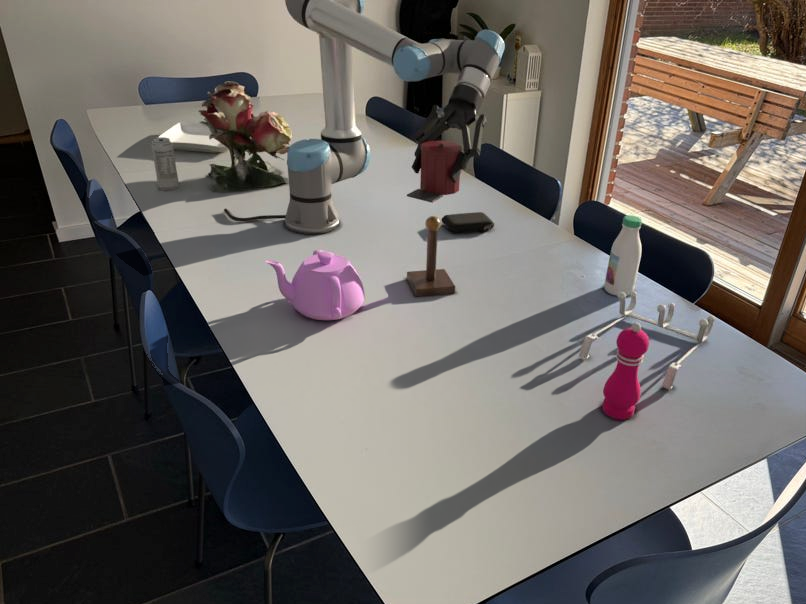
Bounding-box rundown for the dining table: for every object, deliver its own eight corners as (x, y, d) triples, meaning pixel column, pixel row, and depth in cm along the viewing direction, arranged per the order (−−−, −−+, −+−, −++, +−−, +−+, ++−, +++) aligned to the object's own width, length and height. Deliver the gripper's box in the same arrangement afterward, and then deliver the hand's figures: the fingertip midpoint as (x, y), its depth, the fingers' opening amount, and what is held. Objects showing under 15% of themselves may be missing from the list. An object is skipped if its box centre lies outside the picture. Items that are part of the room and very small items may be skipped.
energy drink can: (179, 183, 230) (171, 136, 222) (179, 190, 226) (171, 142, 217) (158, 184, 228) (150, 136, 220) (158, 191, 224) (149, 142, 216)
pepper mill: (596, 399, 146) (613, 313, 135) (630, 399, 147) (650, 314, 136) (604, 421, 140) (622, 332, 129) (640, 421, 141) (661, 333, 130)
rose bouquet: (303, 182, 239) (297, 88, 223) (215, 195, 224) (201, 95, 208) (275, 160, 256) (267, 71, 240) (190, 170, 242) (177, 76, 226)
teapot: (262, 293, 173) (257, 240, 166) (351, 282, 181) (350, 231, 174) (279, 339, 157) (274, 282, 149) (376, 325, 165) (376, 270, 157)
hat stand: (415, 296, 178) (417, 225, 168) (406, 278, 186) (408, 209, 176) (454, 293, 181) (459, 223, 171) (444, 275, 188) (447, 208, 178)
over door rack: (712, 338, 171) (722, 302, 166) (671, 394, 149) (682, 355, 144) (627, 310, 180) (635, 275, 174) (578, 359, 158) (584, 321, 153)
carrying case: (451, 236, 210) (497, 232, 215) (452, 227, 209) (498, 223, 214) (439, 223, 218) (483, 219, 224) (439, 213, 217) (484, 209, 222)
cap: (432, 178, 178) (433, 135, 172) (466, 187, 175) (469, 142, 169) (401, 195, 167) (402, 149, 161) (437, 204, 164) (439, 157, 158)
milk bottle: (635, 287, 191) (650, 216, 180) (630, 299, 185) (646, 226, 174) (606, 281, 193) (620, 210, 182) (601, 293, 187) (614, 220, 176)
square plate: (230, 157, 256) (229, 146, 253) (152, 151, 255) (151, 140, 253) (252, 136, 278) (251, 126, 276) (180, 130, 278) (179, 120, 275)
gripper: (514, 110, 171) (480, 193, 168) (433, 94, 179) (399, 173, 175) (507, 90, 164) (471, 176, 161) (423, 75, 172) (387, 156, 168)
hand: (433, 174), depth 168 cm, fingers closed on cap, 9 cm apart
